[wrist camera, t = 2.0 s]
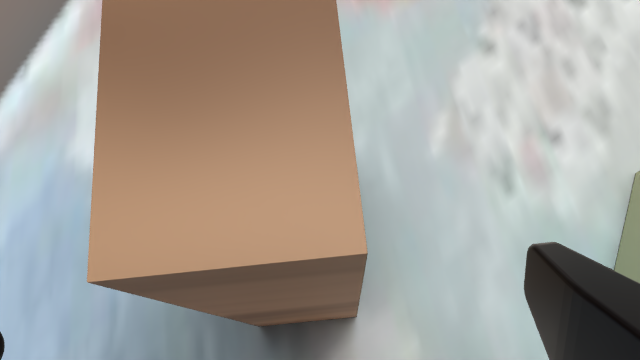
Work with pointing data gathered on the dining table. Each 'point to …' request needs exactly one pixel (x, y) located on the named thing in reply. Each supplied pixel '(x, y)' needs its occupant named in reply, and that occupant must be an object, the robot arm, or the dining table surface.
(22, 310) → the dining table surface
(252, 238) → the walnut card box
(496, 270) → the dining table surface
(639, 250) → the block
